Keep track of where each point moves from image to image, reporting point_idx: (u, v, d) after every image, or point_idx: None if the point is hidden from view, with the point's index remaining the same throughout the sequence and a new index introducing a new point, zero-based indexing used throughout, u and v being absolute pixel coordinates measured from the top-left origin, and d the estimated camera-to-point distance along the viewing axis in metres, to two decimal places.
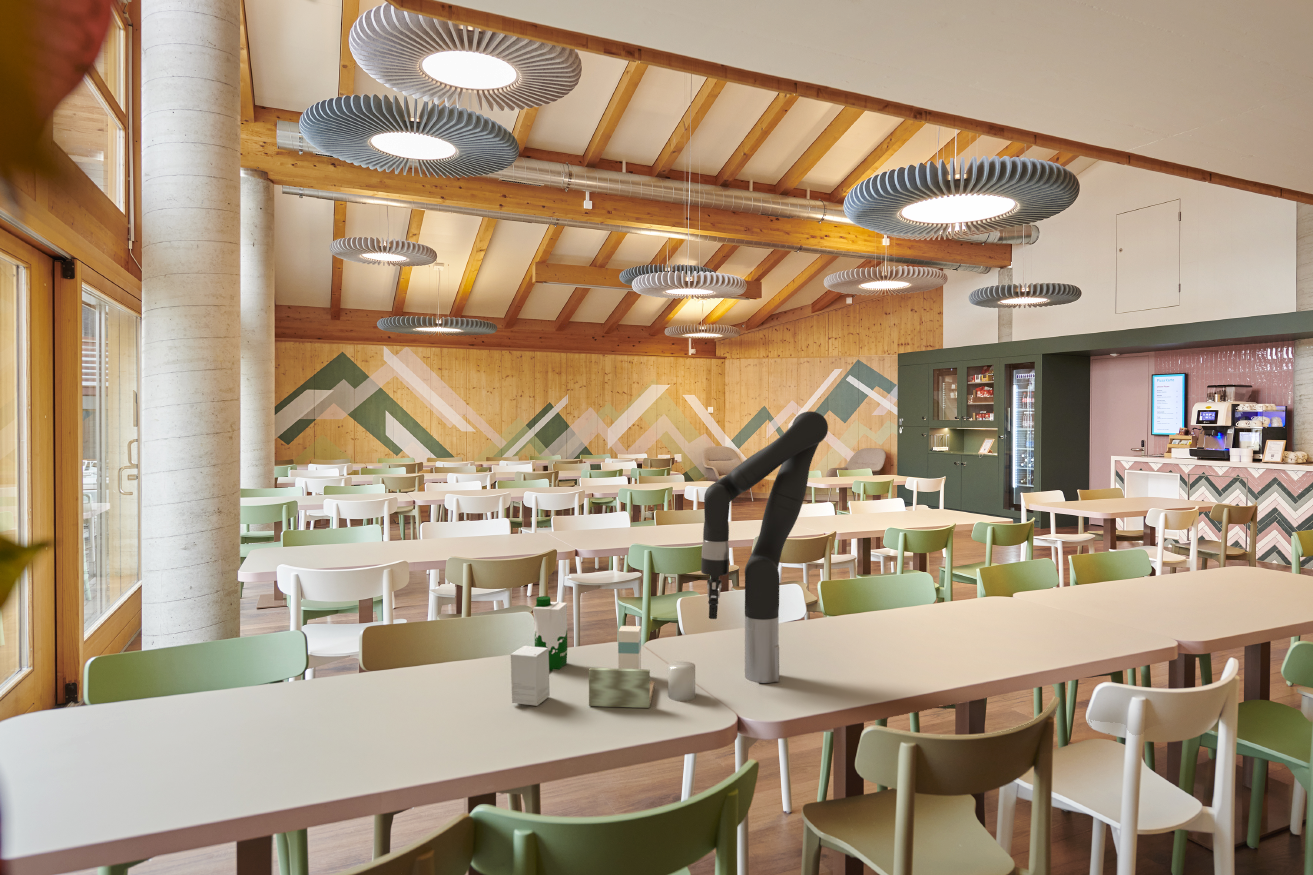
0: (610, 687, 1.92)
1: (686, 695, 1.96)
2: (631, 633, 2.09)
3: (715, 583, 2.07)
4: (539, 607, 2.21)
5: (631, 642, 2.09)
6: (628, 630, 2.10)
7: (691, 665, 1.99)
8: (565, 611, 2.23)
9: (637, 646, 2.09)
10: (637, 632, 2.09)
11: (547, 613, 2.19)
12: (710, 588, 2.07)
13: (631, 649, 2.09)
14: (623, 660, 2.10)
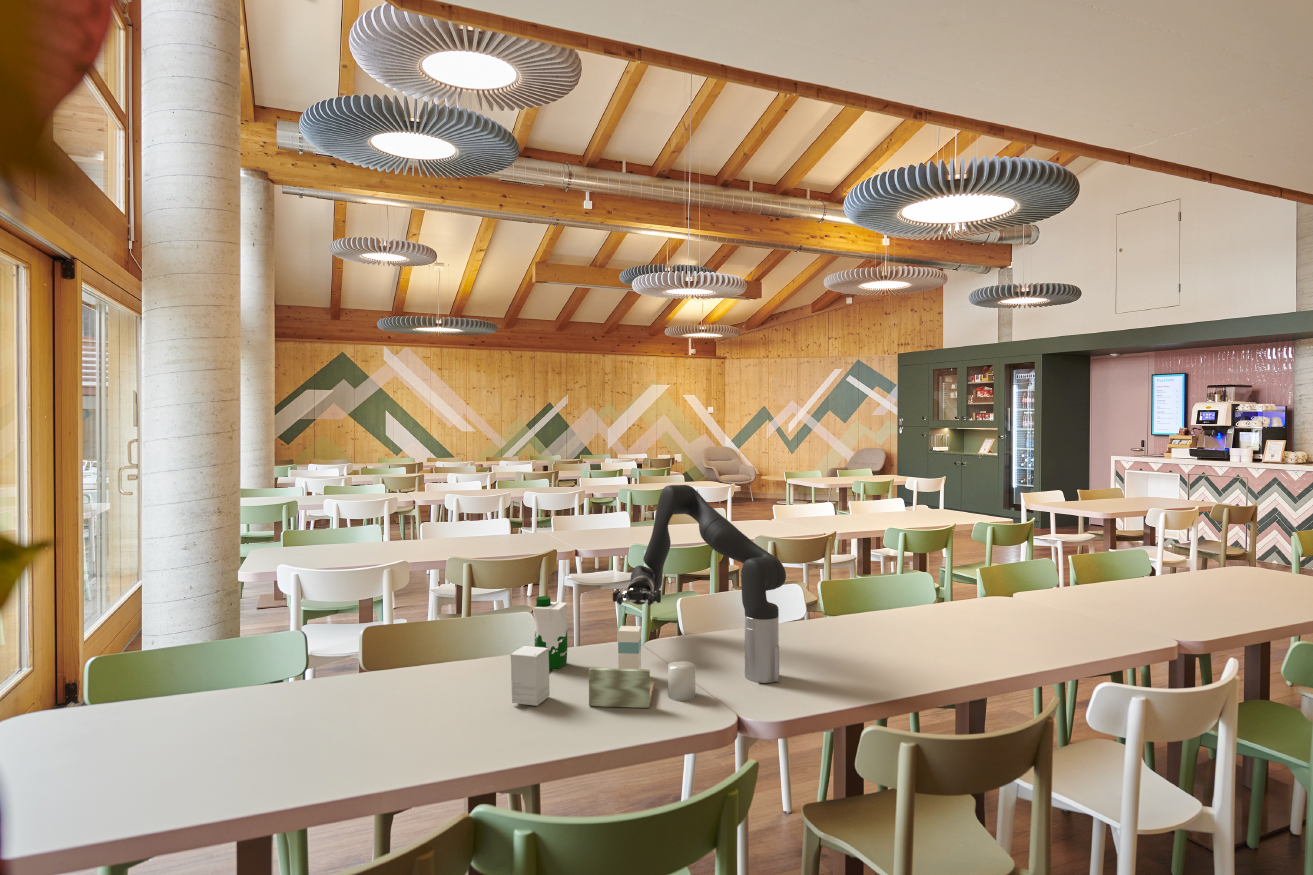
0: (610, 687, 1.92)
1: (686, 695, 1.96)
2: (631, 633, 2.09)
3: None
4: (539, 607, 2.21)
5: (631, 642, 2.09)
6: (628, 630, 2.10)
7: (691, 665, 1.99)
8: (565, 611, 2.23)
9: (637, 646, 2.09)
10: (637, 632, 2.09)
11: (547, 613, 2.19)
12: None
13: (631, 649, 2.09)
14: (623, 660, 2.10)
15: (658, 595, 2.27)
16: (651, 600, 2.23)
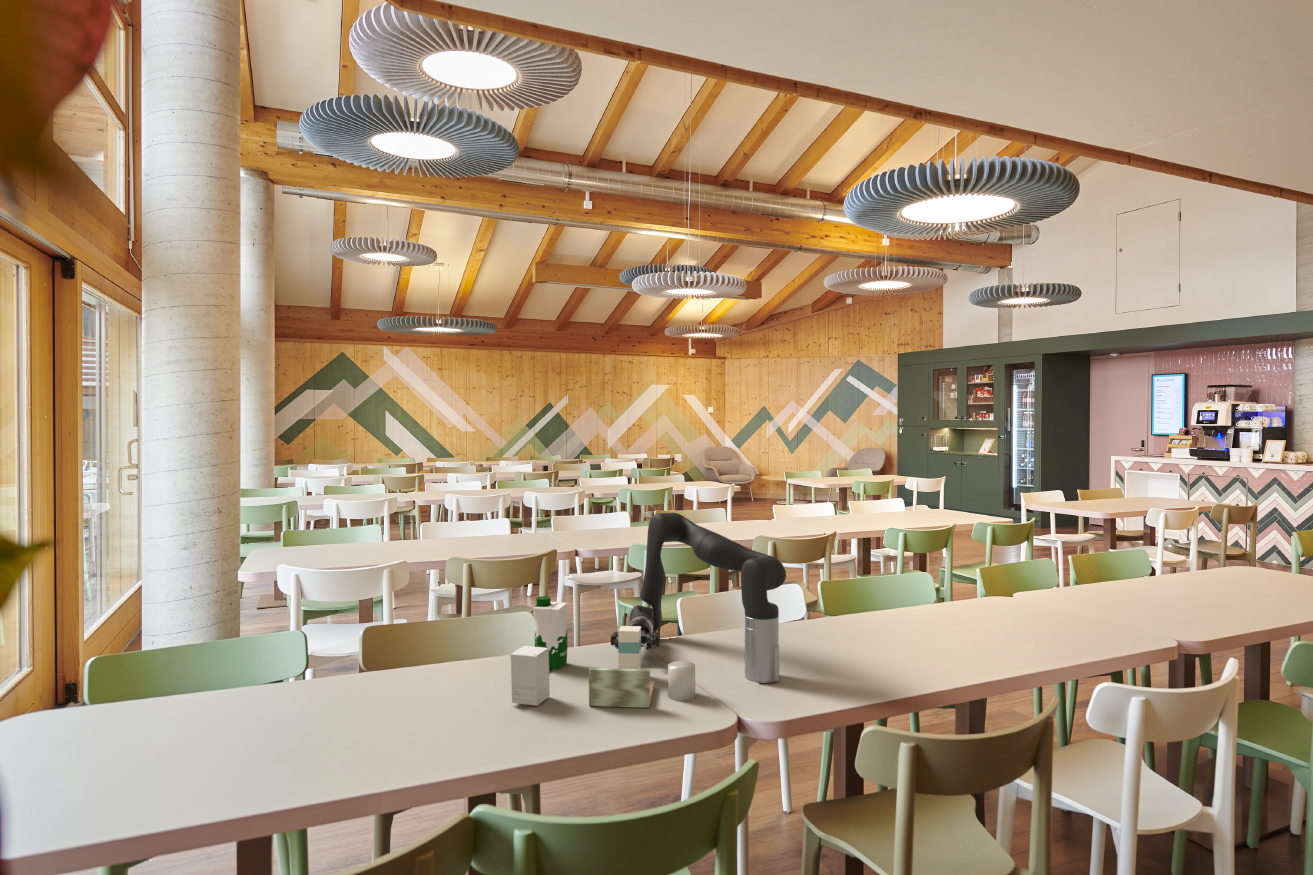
0: (610, 687, 1.92)
1: (686, 695, 1.96)
2: (631, 633, 2.09)
3: None
4: (539, 607, 2.21)
5: (631, 642, 2.09)
6: (628, 630, 2.10)
7: (691, 665, 1.99)
8: (565, 611, 2.23)
9: (637, 646, 2.09)
10: (637, 632, 2.09)
11: (547, 613, 2.19)
12: None
13: (631, 649, 2.09)
14: (623, 660, 2.10)
15: (657, 639, 2.22)
16: (650, 644, 2.19)
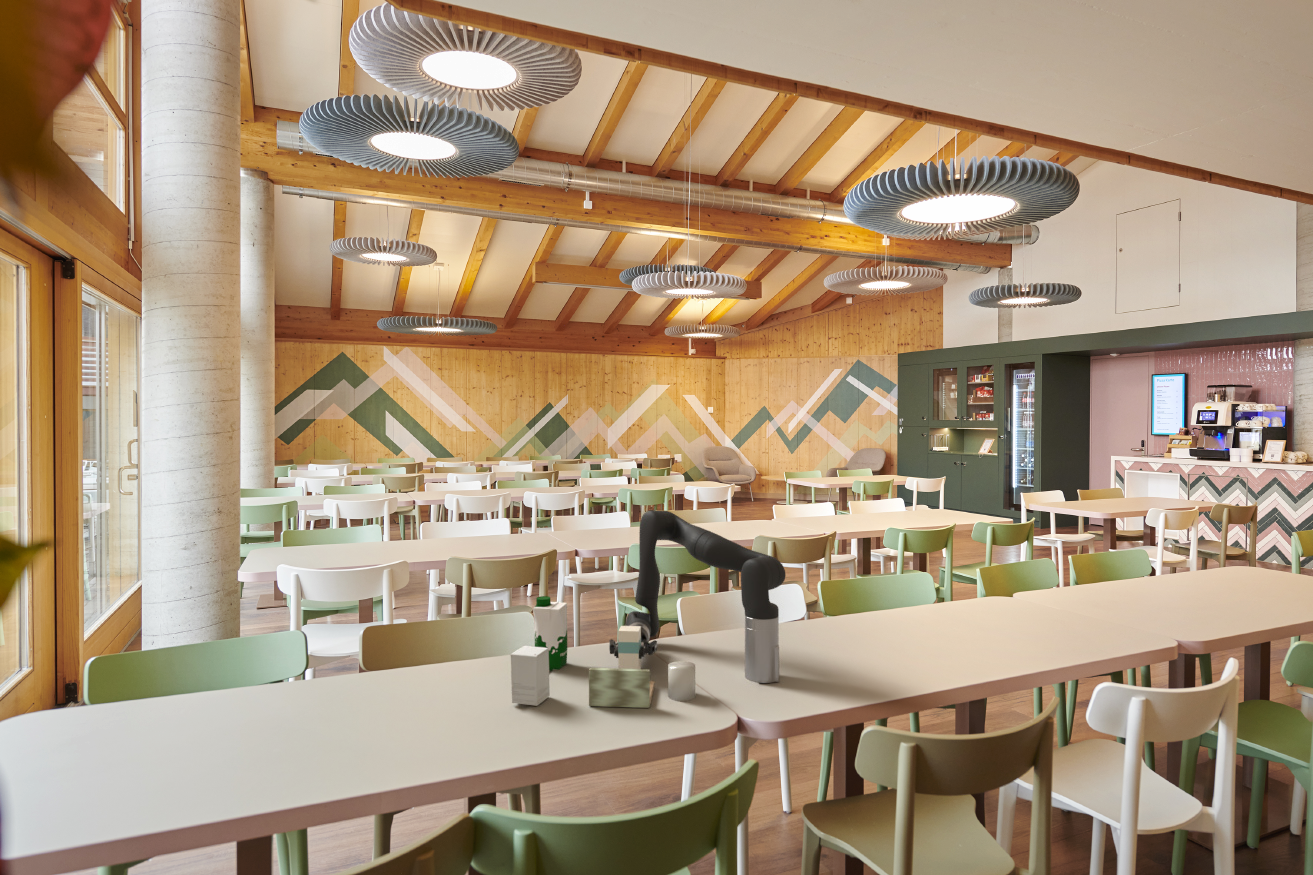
0: (610, 687, 1.92)
1: (686, 695, 1.96)
2: (631, 633, 2.09)
3: None
4: (539, 607, 2.21)
5: (631, 642, 2.09)
6: (628, 630, 2.10)
7: (691, 665, 1.99)
8: (565, 611, 2.23)
9: (637, 646, 2.09)
10: (637, 632, 2.09)
11: (547, 613, 2.19)
12: (609, 648, 2.19)
13: (631, 649, 2.09)
14: (623, 660, 2.10)
15: (649, 647, 2.14)
16: (642, 653, 2.10)
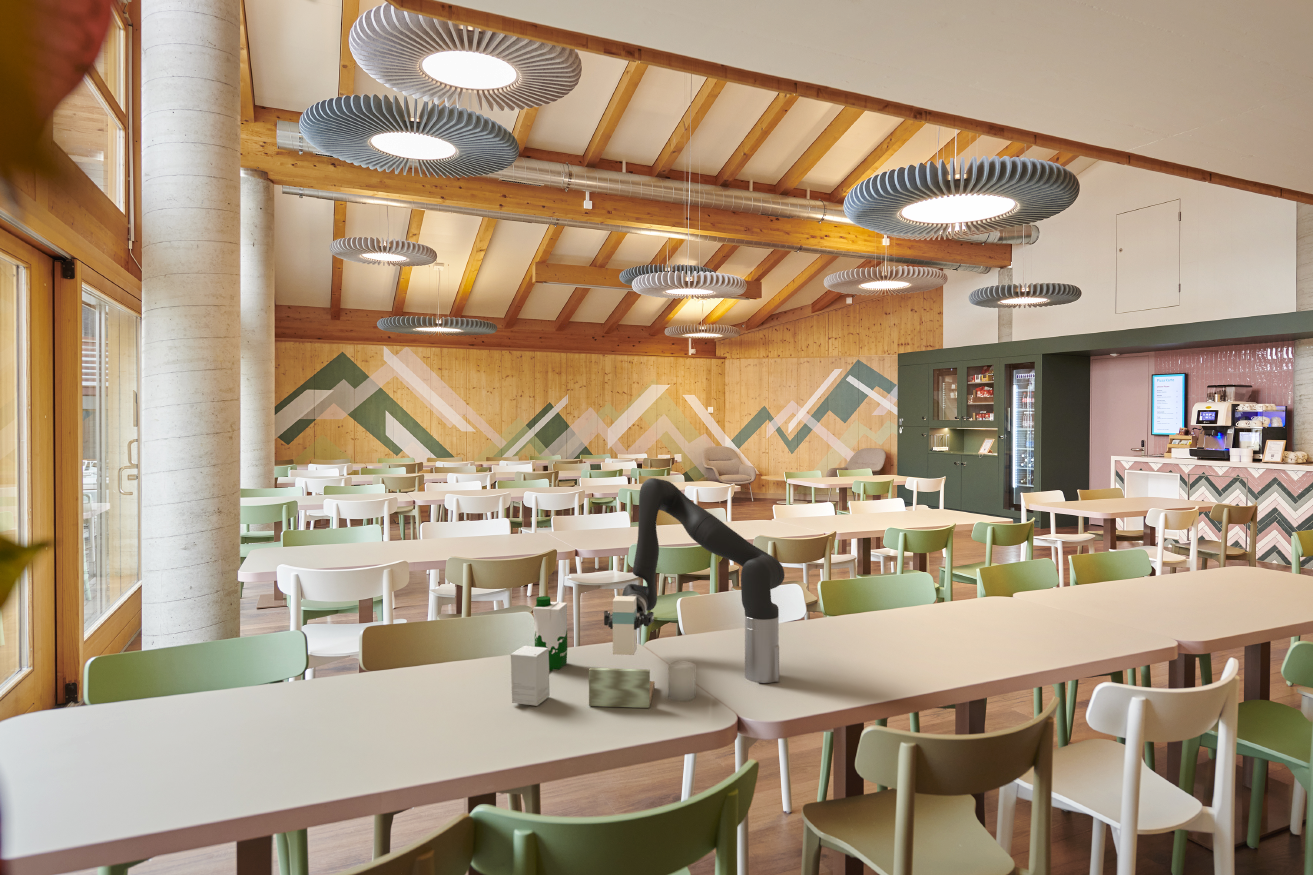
0: (610, 687, 1.92)
1: (686, 695, 1.96)
2: (626, 603, 2.00)
3: None
4: (539, 607, 2.21)
5: (626, 612, 2.00)
6: (623, 600, 2.01)
7: (691, 665, 1.99)
8: (565, 611, 2.23)
9: (632, 616, 2.00)
10: (632, 602, 2.00)
11: (547, 613, 2.19)
12: None
13: (626, 620, 2.00)
14: (617, 631, 2.01)
15: (645, 618, 2.04)
16: (637, 624, 2.01)
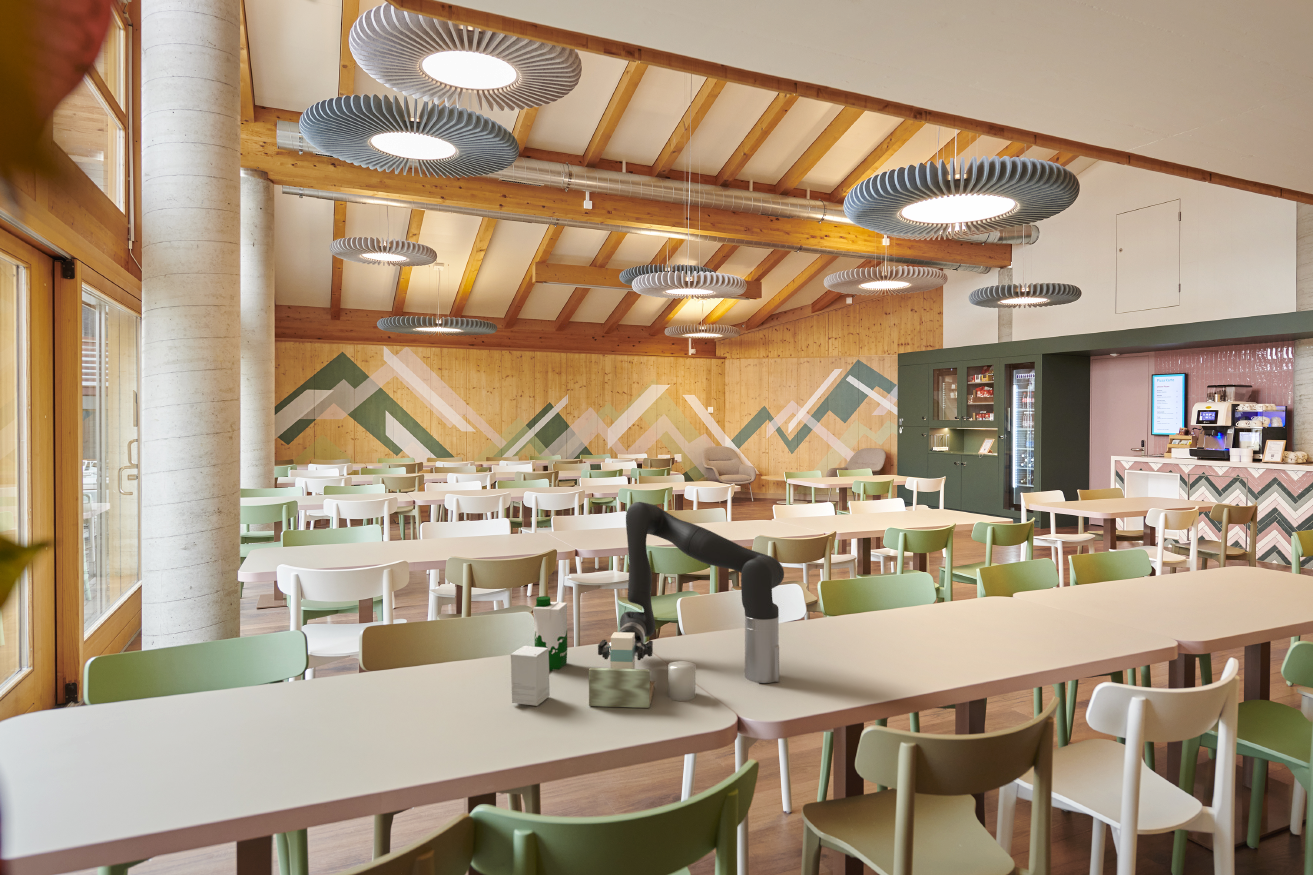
0: (610, 687, 1.92)
1: (686, 694, 1.96)
2: (624, 640, 1.97)
3: None
4: (539, 607, 2.21)
5: (624, 650, 1.97)
6: (621, 637, 1.98)
7: (691, 665, 1.99)
8: (565, 611, 2.23)
9: (630, 654, 1.96)
10: (630, 639, 1.96)
11: (547, 613, 2.19)
12: None
13: (624, 657, 1.97)
14: (615, 668, 1.97)
15: (649, 648, 2.01)
16: (641, 654, 1.98)
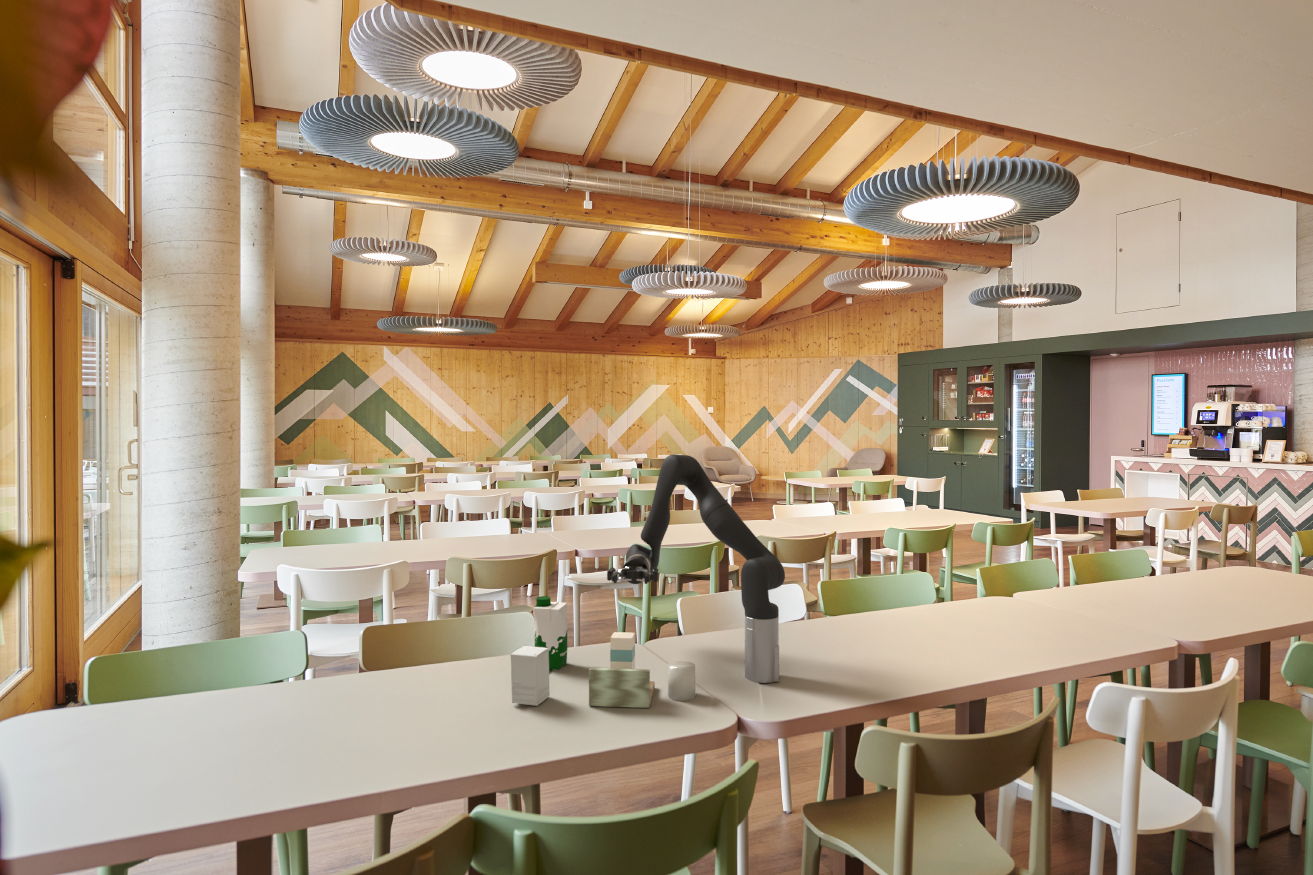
0: (610, 687, 1.92)
1: (686, 694, 1.96)
2: (624, 640, 1.97)
3: None
4: (539, 607, 2.21)
5: (624, 650, 1.97)
6: (621, 637, 1.98)
7: (691, 665, 1.99)
8: (565, 611, 2.23)
9: (630, 654, 1.96)
10: (630, 639, 1.96)
11: (547, 613, 2.19)
12: None
13: (624, 657, 1.97)
14: (615, 668, 1.97)
15: (655, 573, 2.15)
16: (648, 578, 2.11)
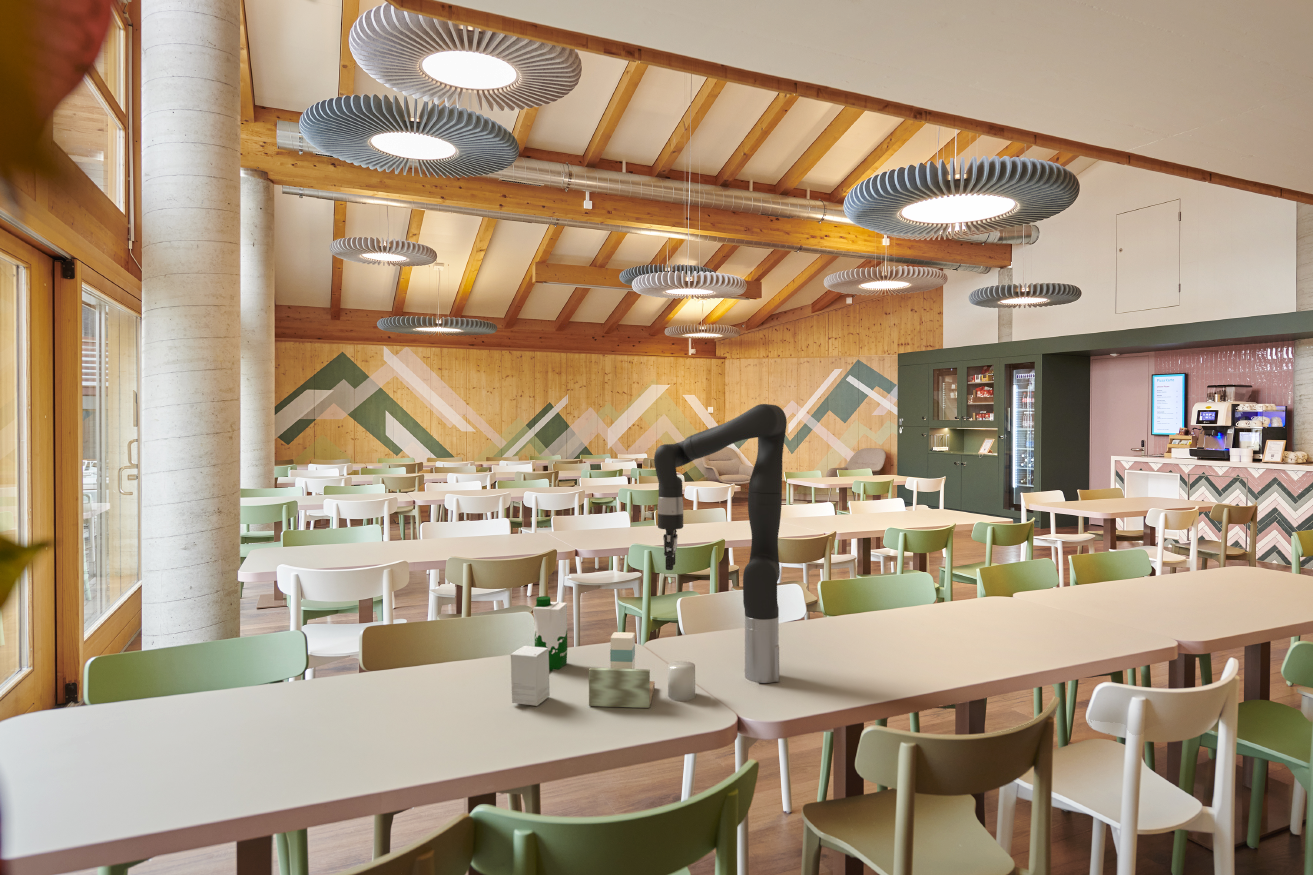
0: (610, 687, 1.92)
1: (686, 695, 1.96)
2: (624, 640, 1.97)
3: (670, 536, 2.20)
4: (539, 607, 2.21)
5: (624, 650, 1.97)
6: (621, 637, 1.98)
7: (691, 665, 1.99)
8: (565, 611, 2.23)
9: (630, 654, 1.96)
10: (630, 639, 1.96)
11: (547, 613, 2.19)
12: (665, 541, 2.20)
13: (624, 657, 1.97)
14: (615, 668, 1.97)
15: None
16: None
